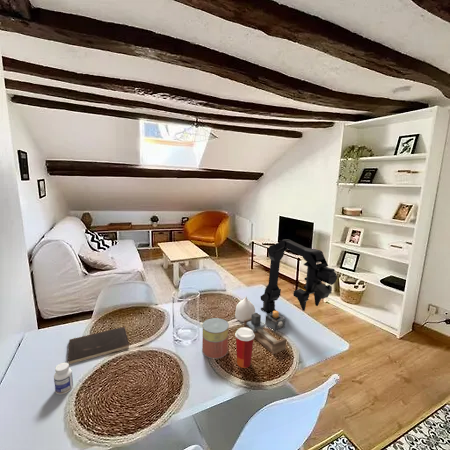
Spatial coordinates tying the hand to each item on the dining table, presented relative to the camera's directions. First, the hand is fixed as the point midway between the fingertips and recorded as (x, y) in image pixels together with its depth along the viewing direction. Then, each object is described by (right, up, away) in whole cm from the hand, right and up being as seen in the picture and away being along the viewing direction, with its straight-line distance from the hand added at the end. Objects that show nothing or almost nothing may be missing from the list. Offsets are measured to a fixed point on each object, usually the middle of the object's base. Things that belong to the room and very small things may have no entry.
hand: (310, 308), depth 121 cm
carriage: (-25, -12, +5) cm, 28 cm away
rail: (-22, -14, 0) cm, 27 cm away
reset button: (-15, -9, +10) cm, 20 cm away
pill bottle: (-97, -18, -32) cm, 103 cm away
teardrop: (-29, -11, +19) cm, 37 cm away
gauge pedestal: (-15, -13, +10) cm, 22 cm away
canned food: (-45, -16, -9) cm, 48 cm away
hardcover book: (-96, -14, -8) cm, 98 cm away
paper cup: (-33, -17, -17) cm, 41 cm away
